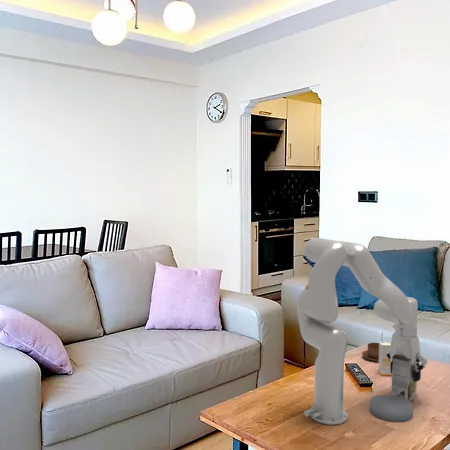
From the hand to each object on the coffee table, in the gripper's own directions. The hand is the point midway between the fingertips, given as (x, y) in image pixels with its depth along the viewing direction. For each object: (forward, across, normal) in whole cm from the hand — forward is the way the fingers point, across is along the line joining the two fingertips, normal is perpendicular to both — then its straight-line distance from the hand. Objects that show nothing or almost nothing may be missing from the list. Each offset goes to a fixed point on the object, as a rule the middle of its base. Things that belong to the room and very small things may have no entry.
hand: (405, 376), depth 180 cm
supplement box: (+8, -17, +14) cm, 23 cm away
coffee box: (+8, 0, 0) cm, 8 cm away
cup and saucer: (+8, -32, +24) cm, 41 cm away
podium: (+7, +5, -14) cm, 17 cm away
